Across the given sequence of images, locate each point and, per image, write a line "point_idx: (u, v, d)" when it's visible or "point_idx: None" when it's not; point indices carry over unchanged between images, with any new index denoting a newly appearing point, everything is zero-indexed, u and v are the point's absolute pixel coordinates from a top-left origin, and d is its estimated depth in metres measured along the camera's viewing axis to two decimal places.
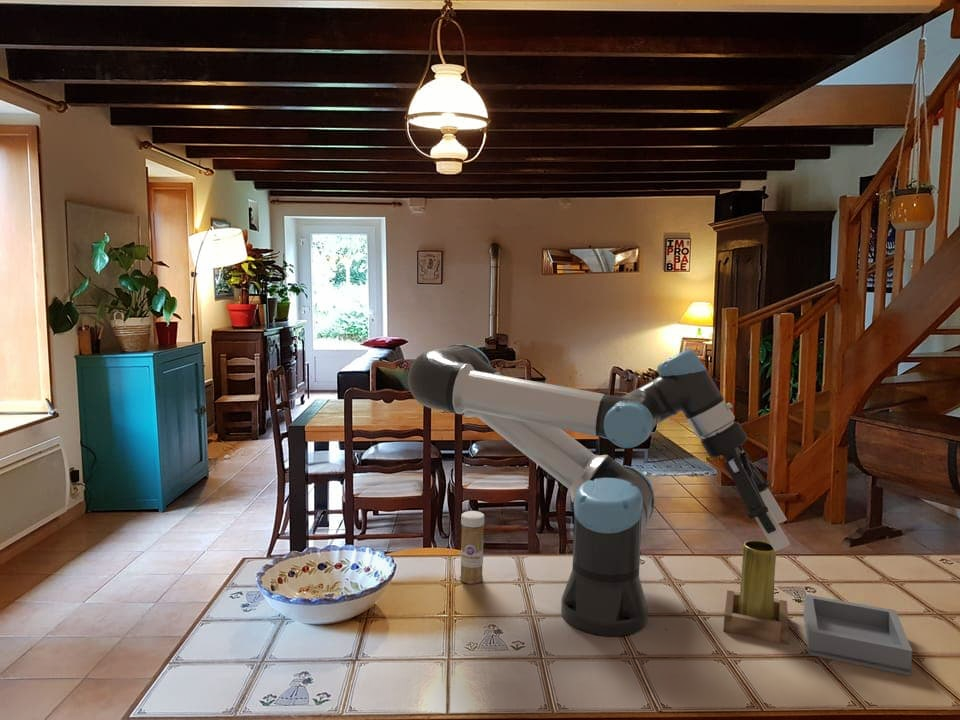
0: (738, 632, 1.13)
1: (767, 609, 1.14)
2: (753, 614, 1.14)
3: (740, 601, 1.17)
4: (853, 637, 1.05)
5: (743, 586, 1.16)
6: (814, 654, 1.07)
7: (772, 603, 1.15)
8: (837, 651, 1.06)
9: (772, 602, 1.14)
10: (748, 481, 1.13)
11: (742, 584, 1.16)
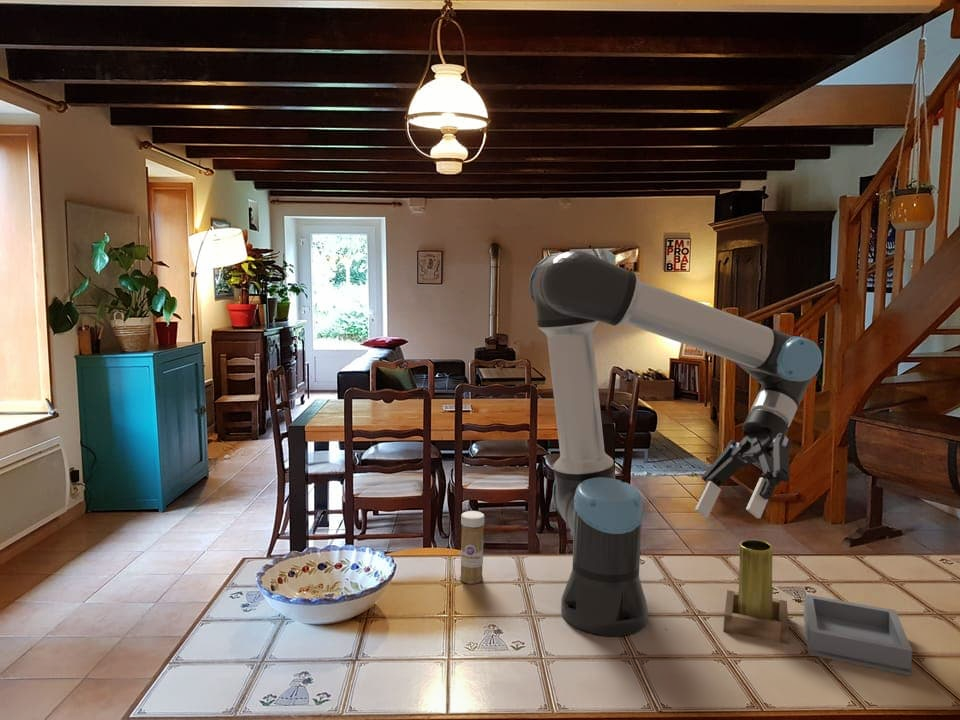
0: (738, 632, 1.13)
1: (766, 608, 1.14)
2: (753, 613, 1.14)
3: (739, 601, 1.17)
4: (853, 637, 1.05)
5: (741, 586, 1.16)
6: (814, 654, 1.07)
7: (771, 602, 1.15)
8: (837, 651, 1.06)
9: (770, 601, 1.14)
10: (787, 457, 1.17)
11: (740, 584, 1.16)
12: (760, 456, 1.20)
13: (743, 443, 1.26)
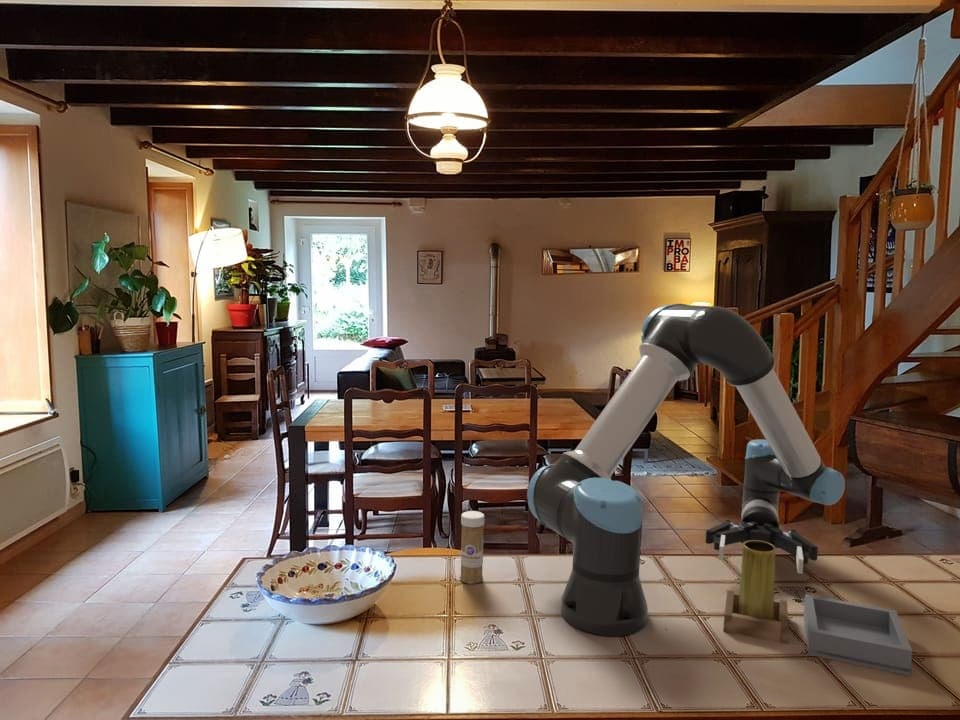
0: (738, 632, 1.13)
1: (768, 609, 1.14)
2: (755, 614, 1.14)
3: (740, 602, 1.16)
4: (853, 637, 1.05)
5: (744, 587, 1.15)
6: (814, 654, 1.07)
7: (772, 603, 1.15)
8: (837, 651, 1.06)
9: (772, 602, 1.15)
10: None
11: (742, 585, 1.16)
12: (781, 536, 1.33)
13: (753, 523, 1.37)
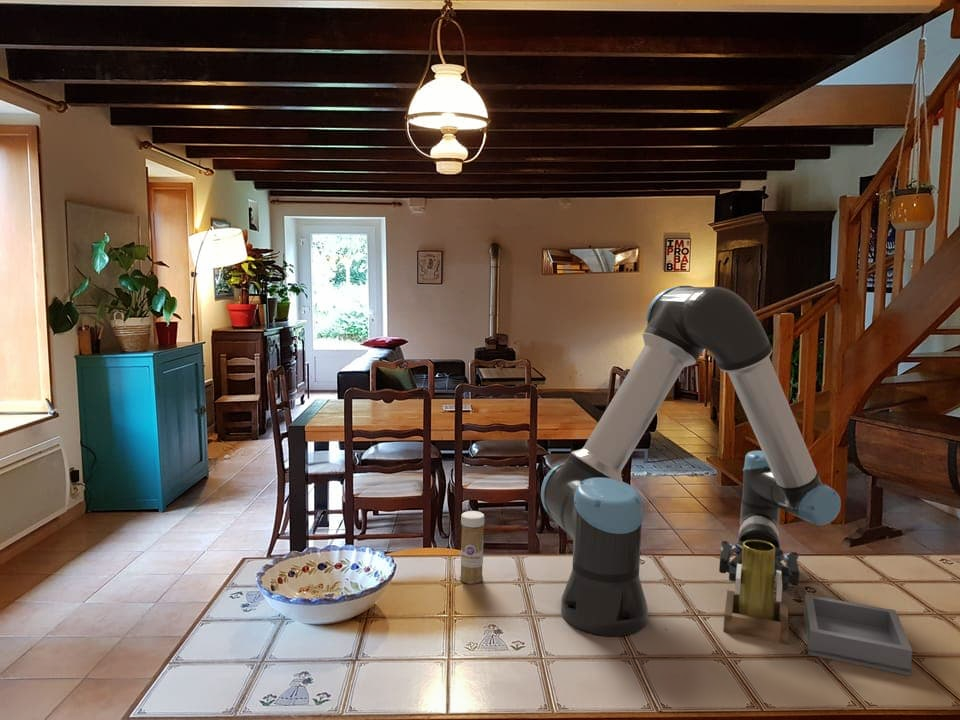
0: (738, 632, 1.13)
1: (768, 608, 1.14)
2: (755, 614, 1.14)
3: (740, 602, 1.16)
4: (853, 637, 1.05)
5: (744, 587, 1.15)
6: (814, 654, 1.07)
7: (772, 602, 1.15)
8: (837, 651, 1.06)
9: (772, 601, 1.15)
10: None
11: (742, 585, 1.16)
12: None
13: None
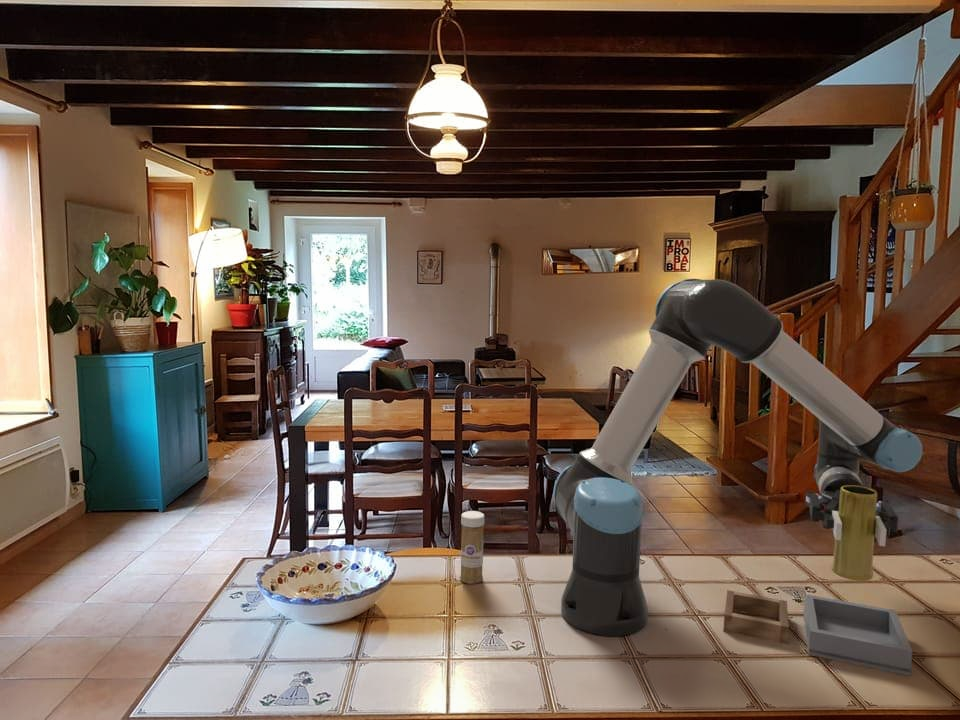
0: (738, 632, 1.13)
1: (869, 556, 1.08)
2: (855, 562, 1.08)
3: (837, 550, 1.10)
4: (853, 637, 1.05)
5: (842, 533, 1.09)
6: (814, 654, 1.07)
7: (872, 550, 1.08)
8: (837, 651, 1.06)
9: (872, 549, 1.08)
10: None
11: None
12: None
13: None
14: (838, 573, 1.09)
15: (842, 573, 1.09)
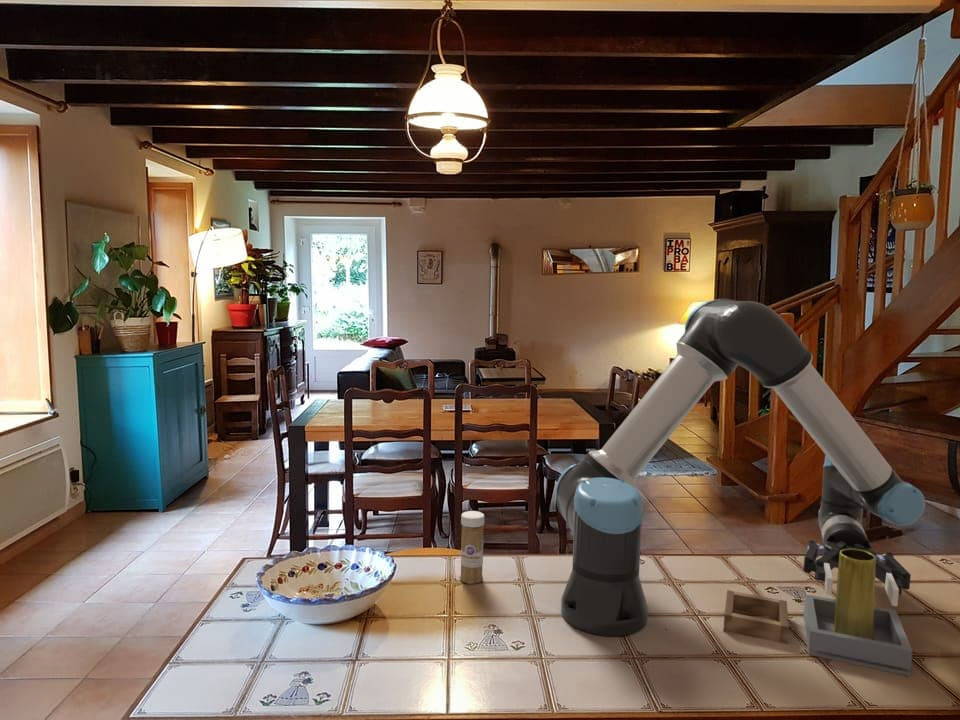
0: (738, 632, 1.13)
1: (869, 621, 1.08)
2: (855, 627, 1.08)
3: (838, 614, 1.11)
4: (853, 637, 1.05)
5: (842, 598, 1.10)
6: (814, 654, 1.07)
7: (873, 614, 1.09)
8: (837, 651, 1.06)
9: (873, 613, 1.09)
10: None
11: (840, 596, 1.10)
12: None
13: (843, 543, 1.20)
14: None
15: None
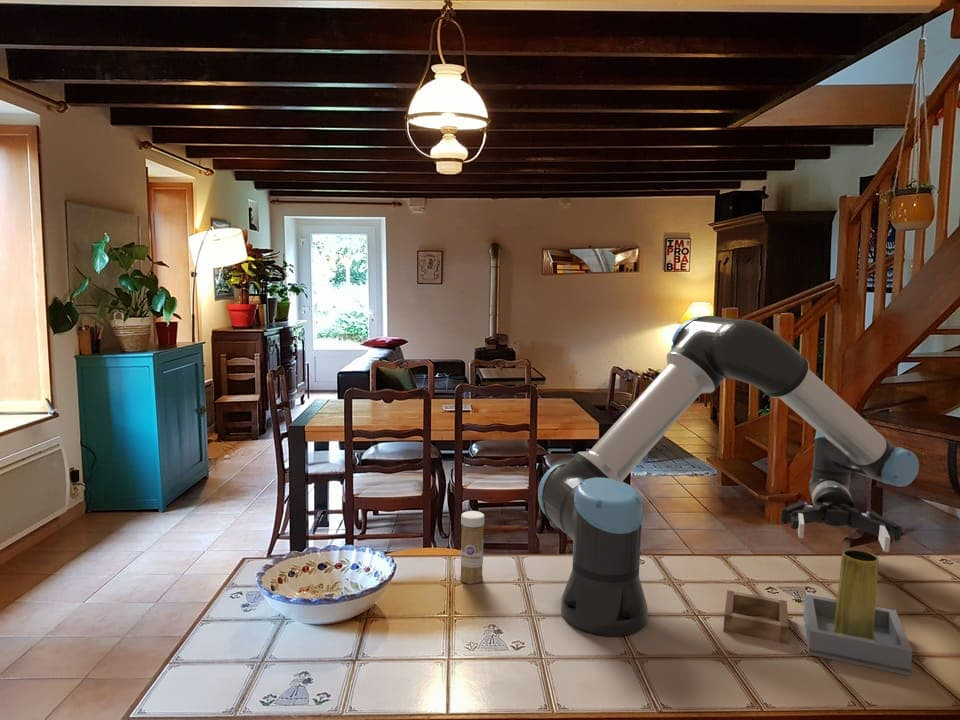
0: (738, 632, 1.13)
1: (870, 622, 1.08)
2: (856, 627, 1.08)
3: (839, 614, 1.11)
4: (853, 637, 1.05)
5: (844, 598, 1.09)
6: (814, 654, 1.07)
7: (874, 615, 1.09)
8: (837, 651, 1.06)
9: (873, 614, 1.09)
10: None
11: (842, 596, 1.10)
12: (861, 515, 1.29)
13: (829, 503, 1.33)
14: None
15: None
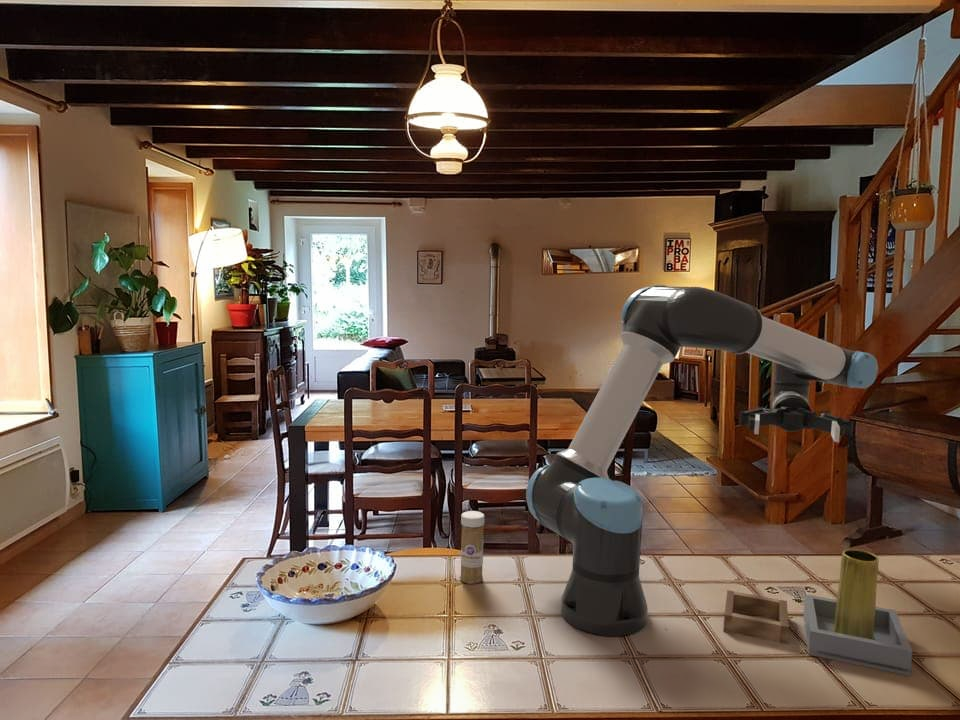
0: (738, 632, 1.13)
1: (870, 622, 1.08)
2: (856, 627, 1.08)
3: (839, 614, 1.11)
4: (853, 637, 1.05)
5: (844, 598, 1.09)
6: (814, 654, 1.07)
7: (874, 615, 1.09)
8: (837, 651, 1.06)
9: (873, 614, 1.09)
10: None
11: (842, 596, 1.10)
12: (815, 415, 1.34)
13: (786, 407, 1.38)
14: None
15: None
